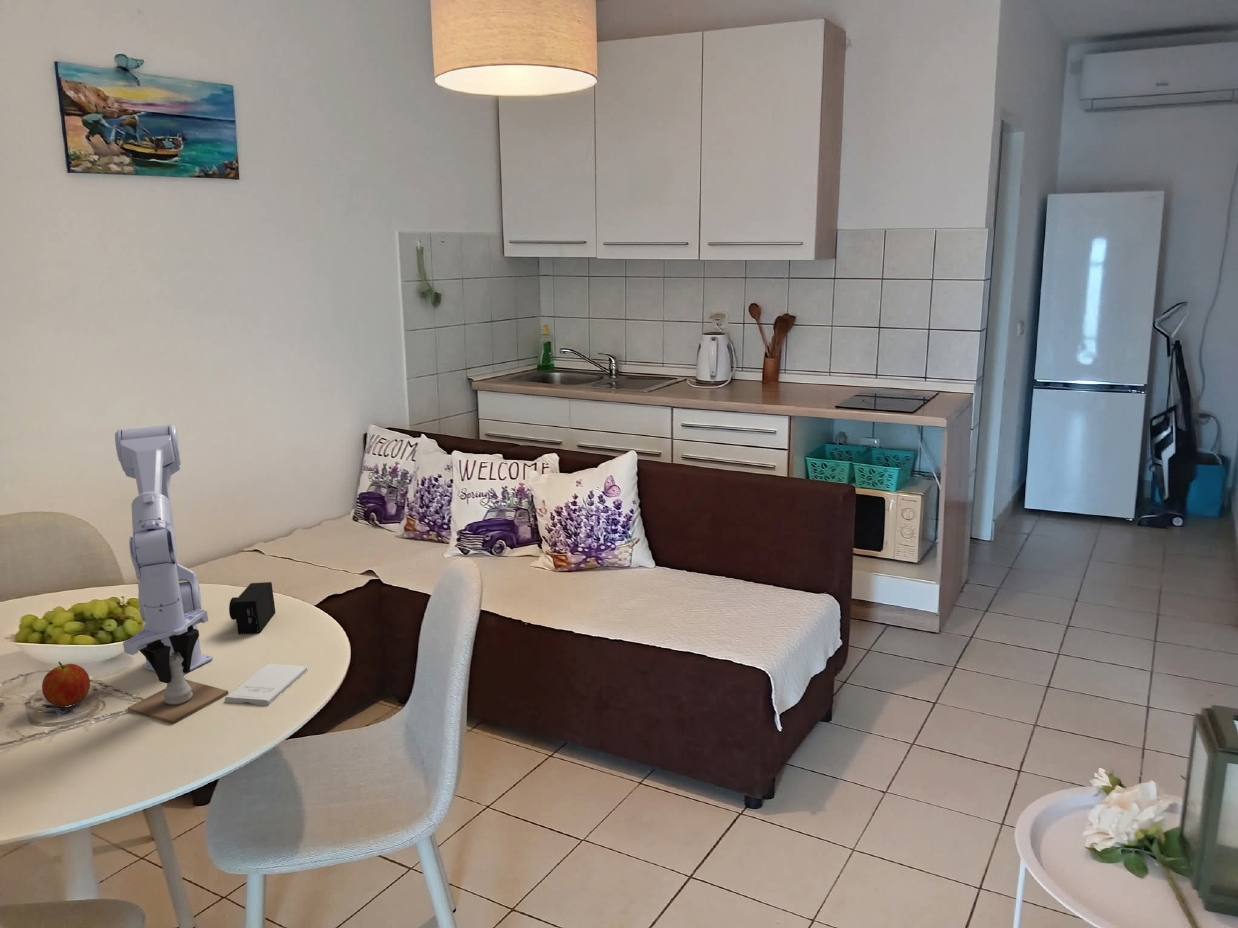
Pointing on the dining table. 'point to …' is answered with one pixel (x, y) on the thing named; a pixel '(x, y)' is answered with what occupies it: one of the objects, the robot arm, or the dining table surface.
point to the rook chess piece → (177, 682)
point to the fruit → (65, 685)
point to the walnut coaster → (174, 713)
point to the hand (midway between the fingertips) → (174, 676)
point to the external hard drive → (266, 684)
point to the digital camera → (253, 608)
